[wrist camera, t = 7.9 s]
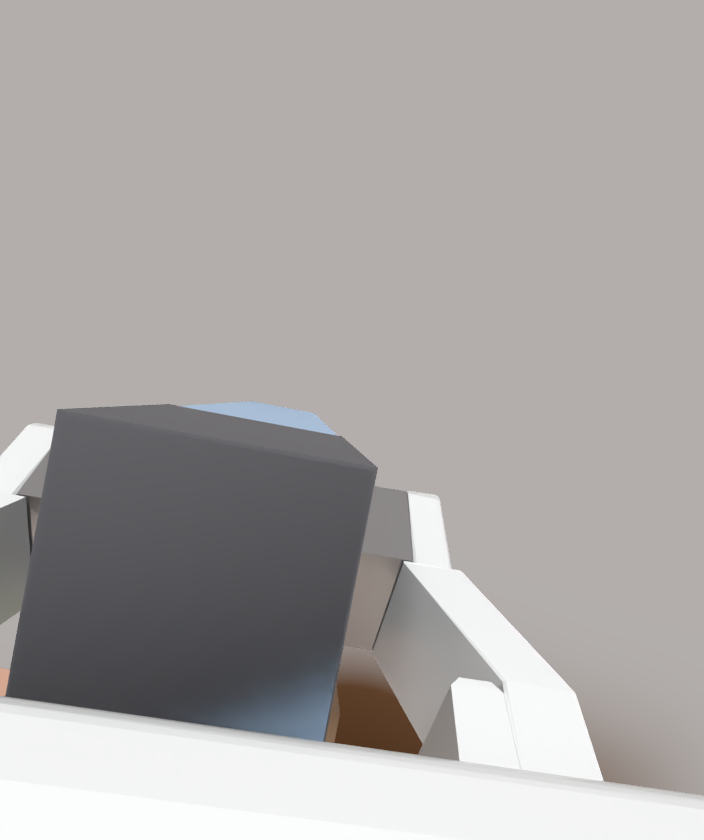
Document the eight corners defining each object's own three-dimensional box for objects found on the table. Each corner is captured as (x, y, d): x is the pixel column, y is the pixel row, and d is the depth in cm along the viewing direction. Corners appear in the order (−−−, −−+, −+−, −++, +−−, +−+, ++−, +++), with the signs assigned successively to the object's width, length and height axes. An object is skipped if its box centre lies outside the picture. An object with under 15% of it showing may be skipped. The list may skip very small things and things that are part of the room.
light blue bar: (-1, 729, 6) (58, 409, 6) (239, 463, 30) (251, 400, 30) (319, 772, 6) (377, 467, 6) (302, 474, 30) (314, 412, 30)
